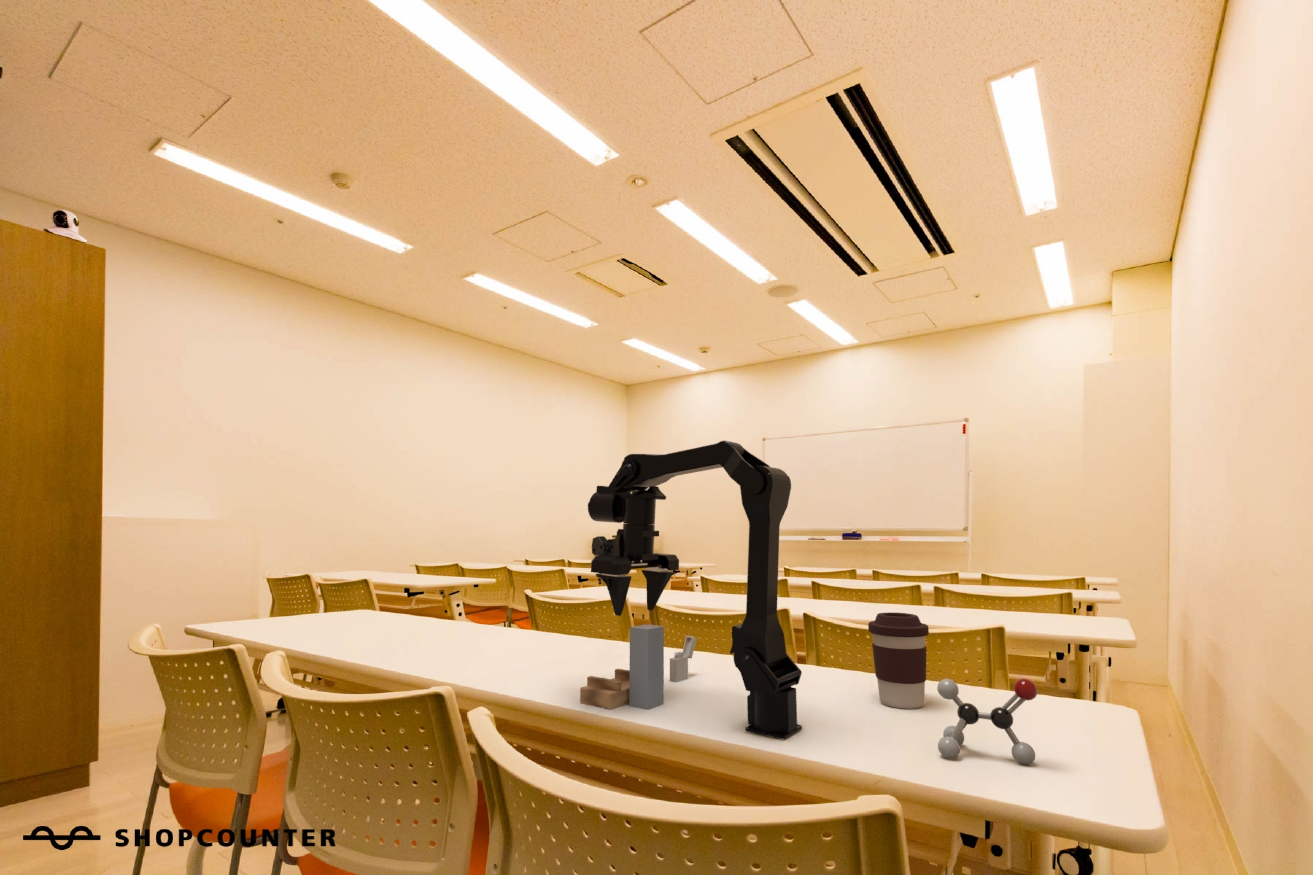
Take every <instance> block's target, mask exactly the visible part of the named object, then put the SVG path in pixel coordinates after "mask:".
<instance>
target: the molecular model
mask: <svg viewBox="0 0 1313 875" xmlns="http://www.w3.org/2000/svg"><path fill="white" fill-rule="evenodd" d="M936 689H937V692H938V694H939V695H940V697H941V698H942V699H945V700H948V701H950V700H951V701H953V702H954V703H955V704H956V705H957V706H958V708H957V712H956V713H957V716H958V718H959V720H958V721H957V723H956V725H948V726H946V727H945V728H944V730H943V734H942V735H943V737H941V738H940V739H939V741H938V743H937V750H938V751H939V753H940V755H942V757H943V758H945V759H949V760H954V759H956V758H958V757H959V755H960V752H961V747H960V746H962V745H963V744H964V741H965V735H964V732H963V731H964V729H965V728H966V727H967V726H968V725H975V724H976V723H978V721H979V720H980V719H981V720H982V719H983V720H989V721H991V723H992V724H993V725H994V726H995V727H996V728H998V729H1000V730H1004V731H1005V733H1006V735H1007V736H1008V738H1009V739H1010V741H1011V742H1012V744H1013V745H1012V747H1011V755H1012V757H1013V759H1014V760H1015V761H1016V762H1017V763H1018V764H1021V765H1023V766H1028V765H1031V764H1033V762H1035V760H1036V752H1035V750H1034V748H1033V747H1032V745H1030V744H1028V743H1027V742H1024V741H1020V740H1019V738H1018V737H1017V735H1016V734H1015V732H1014V731H1013V729H1012V728H1011V727H1012V726H1013V723H1014V716H1013V713H1014V712H1015V711H1016V710H1017V709H1018V708H1020V706H1022V705H1023V704H1024V702H1026V701H1033V700H1034V699H1035V698H1036V697H1037V695H1038V688H1037V686H1036V684H1035V682H1034V681H1032V680H1030V679H1028V678H1019V679H1017V680H1016V681H1015V682H1014V684H1013V691H1014V694H1013V695H1012V696H1011V698H1009V699H1008V700H1007V702H1005V703H1003V705H1002V706H999V707H994V708H993V709H992V710H991V712H982V711H979V709H978V708H977V707H976V706H975V705H974V704H972V703H970V702H963V701H962V700H961V699H960V697H959V696H958V695H959V691H960V690H959V686H958V684H957V683H956V682H955V681H954V680H952V679H950V678H944V679H940V681H939V682H938V683H937V688H936ZM1018 698H1019V699H1018ZM1015 701H1016V702H1015ZM1011 705H1012V706H1011ZM1010 706H1011V707H1010Z"/></svg>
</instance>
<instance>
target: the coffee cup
mask: <svg viewBox="0 0 1313 875" xmlns="http://www.w3.org/2000/svg"><path fill="white" fill-rule="evenodd" d="M867 625H868V626H867V627H868V632H869V633H871V634H872V635H871V636H872V655H873V661H874V662H873V664H874V672H875V678H876V679H877V690H878V697H879V700H880V701H879V702H880V703H881V704H883V705H885V706H888V707H891V708H896V709H904V710H905V709H907V710H908V709H909V710H912V709H919V708H922V707H924V705H925V692H926V690H925V688H926V687H925V686H926V684H925V683H926V681H927V646H926V637H928V636H929V634H930V632H929V629H930V628H929V625H927V623H923V622H921V620H920V618H919V616H918V615H917V614H914V613H908V612H907V613H906V612H879V613H877V614H876V617H875V619H874V620H873V621H868V624H867Z"/></svg>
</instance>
